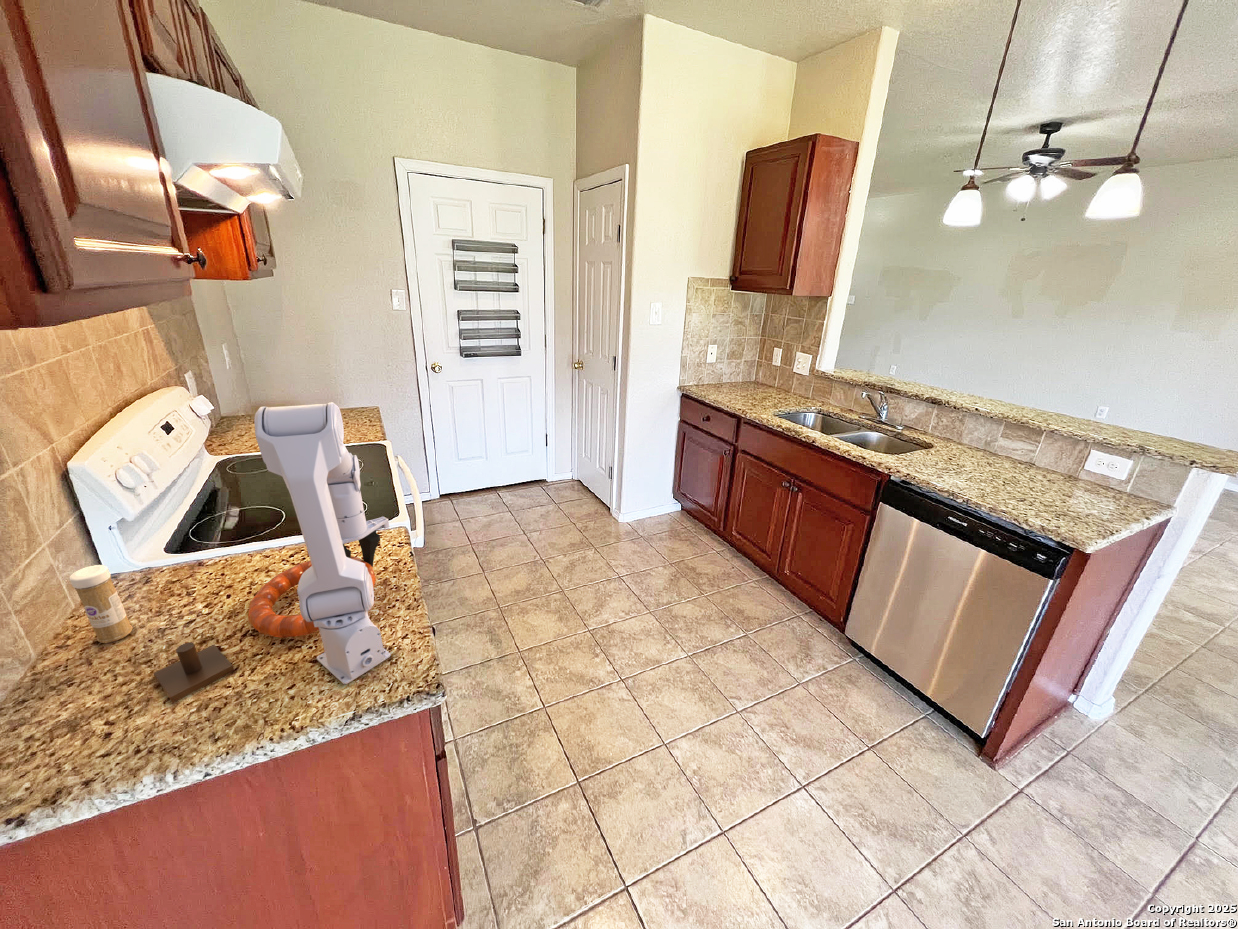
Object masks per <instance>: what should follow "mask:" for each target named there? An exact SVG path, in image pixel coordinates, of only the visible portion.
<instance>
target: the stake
mask: <svg viewBox="0 0 1238 929" xmlns="http://www.w3.org/2000/svg"><path fill="white" fill-rule="evenodd" d="M175 652H176V654H177V657H178V659H179V660H178V661H176V662H174V663H172V664H170V665H168V666H165V667H163V668H161V669H159V670H157V671H156V672H155V671H154V672H153V675H154V678H155V680H156V681H157V682H158V684H159V685H160V687H161V688H162V690H163V691H164V693H165V694H166V696H167V698H168V699H169V700H170V702H171V703H173V704H174V703H175V702H177V701H180V700H181V699H183V698H186V697H187V696H190V695H191V694H194V693H195V692H197V691H199V690H201V689H202V688H204V687H206V686H208V685H210V684H212V683H214V682H216V681H219V679H221V678H224V677H225V676H227V675H229V674H231V673H234V672H235V668H234V666H233V664H232V663H231V662H230V661H229V660H228V659H227V657H226V656H225V655H224V654H223V653H222V651H221V650H220V649H219V648H218V647H217V646H216V645H215V644H211V645H210V646H208V647H205V648H204V649H201V650H199V651H197V649H196V645H195V643H194V642H193V641H191V642H189V641H188V642H185V643H183V644H180V645H179V646H177V647H176V649H175Z"/></svg>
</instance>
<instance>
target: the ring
mask: <svg viewBox="0 0 1238 929" xmlns="http://www.w3.org/2000/svg"><path fill="white" fill-rule="evenodd" d="M351 559H354V560H357V561H360V562H362V563H364V564H365V566H366V567H367V569H368V572H369V574H370V575H371V578H372V582H373V588H374V587H375V585H376V582H377V579H376V574H375V571H374V568H373V567H372V566H371V565H370V564H368V563H367V562H365V561H364V560H363V558H360V557H357V556H352V555H351ZM311 566H312V564H311V561H310V560H307V561H304V562H300V563H298V564H296V565H294V566H292V567H289V568H288V569H286V570H284V571H281V572H280V573H278V574H277V575H275V576H274V577H273V578H271V579H270V580H269V581H268V582H266V583H265V584H264V585H262V586H261V587H260V588H259V590H258V591H257V592H256V594H255V595H254V597H253V598H252V599H251V600H250V602H249V605H248V614H247V620H248V622H249V625H251V626H252V627H253V628H254V629H255V630H256V631H257V632H258V633H259V634H261V635H264V636H268V637H276V638H280V639H286V638H287V639H288V638H293V637H301V636H307V635H311V634H313V633H316V632H320V631H319V627H314V623H313V621H312V622H307V621H306V620H305V619H303V617H302V615H301V614H294V615H284V614H283V615H282V614H277V613H276V612H275V611H274V605H275V603H277V601H278V600H279V598H281V597H282V596H283V595H284V594H285V593H287V592H288V591H289V590H290V589H292V588H294V587H295V586H298V584H299V580H300V578H301V575H302V574H303V573H304V572H305V571H306V570H307V569H308V568H310V567H311Z"/></svg>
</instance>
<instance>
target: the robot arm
mask: <svg viewBox="0 0 1238 929" xmlns="http://www.w3.org/2000/svg"><path fill="white" fill-rule="evenodd" d="M253 420H254V424H253V425H254V434H255V439H256V443H257V446H258V449H259V451H260V454H261V458H262V461H263V463H264V464H265V466H266V469H267V471H268V472H270V473H273V474H275V475H277V476H280V477H282V479H283V481H284V483H285V485H286V488H287V490H288V492H289V495H290V499H291V502H292V505H293V508H294V511H295V515H296V518H297V521H298V525H299V528H300V531H301V534H302V538H303V541H304V544H305V547H306V551H307V554H308V557H309V561H311V564H312V566H311V567H310V568H308V569H307V570H306V571H305V572H304V573H303V574H302V575H301V578H300V580H299V584H298V585H297V592H296V593H297V597H298V604H299V612H300V615H302V617H303V619H305V620H306V621H307V622H312V621H313V623H314V627H319V631H318V632H319V634H320V635H319V636H320V638H321V643H322V647H323V651H324V652H322V653H321V654H319V655H317V656H316V661H317V662H318V663H320V664H321V665H322V666H323V667H324V668H325V669H326V670H327V671H328V672H329V673H331V675H333V676H334V677H335V678H336V679H337V680H338V681H340V682H341V683H342V684H343V685H348V684H350V683H351V682H353V681H354V680H356V679H357V678H359V677H361V676H362V675H364V674H365V673H367V672H368V671H370V670H372V669H374V668H375V667H376V666H378V665H379V664H382V663H383V662H384V661H386V660H388V659H389V658H391V652H389V651H388V650H387V649H386V648H384V643H383V639H382V633H381V630H380V629H379V628H378V626H377V625H375V624H374V623H373V622H372V620H371V619H370V617H369V612H368V611H371V609H372V607H373V606H374V604H375V591H374V590H375V589H374V587H373V582H372V578H371V575H370V574H369V572H368V569H367V567H366V566H365V564H364V563H362V562H360V561H357V560H354V559H351V556H352V551H351V550H350V549H348V548H347V545H345V544H349V543H354V542H357V541H358V543H359V547H360V550H361V555H362V560H364V561H365V562H367V563H368V564H370V565H371V566H372V568H373V567H374V559H375V554H376V550H377V547H378V545H379V543H380V541H381V535H380V534H379V533H377V531H379V530H382V529H384V530H385V529H388V528H390V522H389V518H387V517H385V516H381V517H378V518H374V519H369V520H367V519H366V515H365V509H364V503H363V498H362V492H361V486H362V485H361V477H360V476H361V470H360V463H359V458H358V455H356V454H354V455H353V454H352V452H349V450H348V449H347V447H346V445H345V443H344V439H345V430H344V429H345V428H344V421H343V416H342V412H341V409H340V407H339V406H338V405H337V404H336V403H335V402H333V401H331V402H328V403H315V404H302V405H284V406H283V405H282V406H260V407H259V408H258V410H256V412H255V413H254V419H253Z"/></svg>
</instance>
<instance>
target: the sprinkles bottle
mask: <svg viewBox="0 0 1238 929" xmlns="http://www.w3.org/2000/svg"><path fill="white" fill-rule="evenodd" d="M68 580H69V582H70V584H71V586H72V588H74V590H75V591H76V593H77V595H78V598H79V600H80V602H81V604H82V606H83V608H84V611H85V615H86V617H87V619H88V622H89V624H90V626H91V627H92V629H93V631H94V633H95V635H96V641H98V642H99V643H101V644H109V643H113V642H117V641H119V640H121V639H123V638H125V637H127V636H129V634H131V632H133V629H134V628H133V626H132V625H131V622H130V620H129V618H128V616H127V612H126V610H125V608H124V605H123V603H122V601H121V598H120V596H119V593H118V591H117V589H116V587H115V585H114V582H113V581H112V575H111V572H110V570H109V567H108V566H107V565H104V564H95V565H89V566H86V567H83V568H80V569H78V570H76V571H74V572H72V573H71V574H70V575H69V577H68Z"/></svg>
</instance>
